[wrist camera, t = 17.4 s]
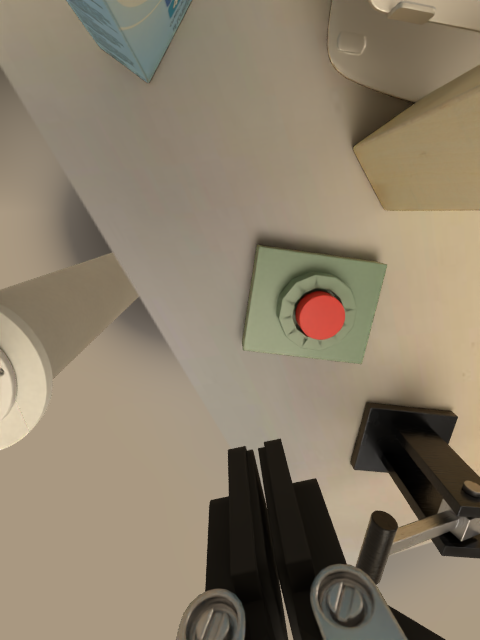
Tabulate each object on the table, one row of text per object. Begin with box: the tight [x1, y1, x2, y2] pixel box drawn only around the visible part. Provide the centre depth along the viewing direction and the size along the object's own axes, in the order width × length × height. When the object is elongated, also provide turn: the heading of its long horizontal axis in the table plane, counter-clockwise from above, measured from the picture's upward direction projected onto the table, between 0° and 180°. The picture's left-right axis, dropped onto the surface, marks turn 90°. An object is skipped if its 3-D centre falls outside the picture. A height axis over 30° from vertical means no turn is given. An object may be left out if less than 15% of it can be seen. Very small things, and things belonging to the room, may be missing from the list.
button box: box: [242, 245, 387, 364], centre depth 33 cm, size 12×10×4 cm
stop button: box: [295, 291, 345, 340], centre depth 31 cm, size 4×4×2 cm
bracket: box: [351, 402, 480, 558], centre depth 34 cm, size 10×8×13 cm
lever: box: [356, 499, 480, 585], centre depth 28 cm, size 12×5×2 cm, turn 83°
